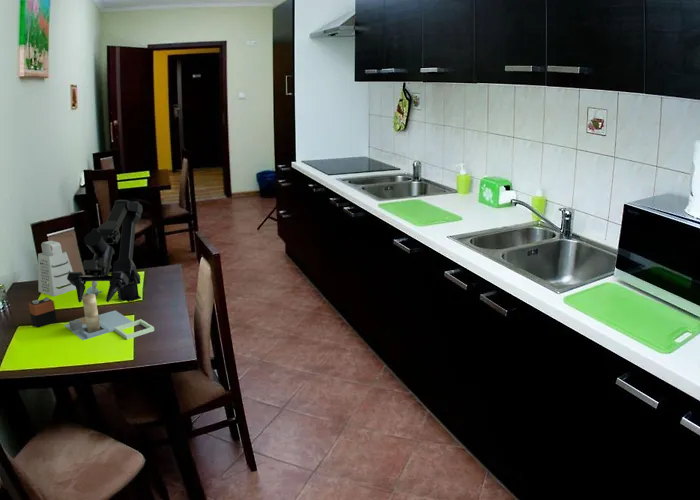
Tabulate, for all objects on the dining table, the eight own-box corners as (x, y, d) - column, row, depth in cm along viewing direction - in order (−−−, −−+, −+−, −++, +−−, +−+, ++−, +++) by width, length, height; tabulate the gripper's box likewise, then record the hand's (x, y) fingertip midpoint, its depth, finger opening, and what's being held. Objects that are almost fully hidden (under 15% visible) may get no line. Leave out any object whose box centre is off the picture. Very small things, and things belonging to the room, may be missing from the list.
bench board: (115, 313, 212) (114, 303, 211) (136, 327, 201) (135, 317, 200) (64, 328, 200) (62, 318, 199) (83, 343, 189) (81, 333, 188)
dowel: (97, 328, 197) (92, 292, 193) (102, 332, 194) (97, 295, 190) (85, 332, 194) (80, 295, 190) (90, 336, 192) (84, 299, 188)
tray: (141, 325, 202) (141, 319, 201) (154, 333, 195) (153, 327, 195) (115, 334, 196) (114, 327, 195) (127, 342, 189) (126, 335, 188)
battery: (32, 327, 201) (27, 300, 198) (52, 321, 206) (48, 295, 203) (37, 331, 198) (33, 303, 196) (58, 324, 203) (53, 298, 200)
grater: (54, 296, 229) (45, 247, 223) (38, 291, 235) (30, 244, 229) (78, 288, 238) (70, 241, 232) (62, 283, 243) (55, 237, 237)
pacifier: (89, 300, 226) (104, 295, 230) (86, 285, 224) (102, 280, 228) (81, 295, 231) (96, 291, 235) (78, 281, 229) (93, 276, 233)
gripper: (65, 249, 194) (54, 292, 187) (121, 248, 194) (112, 291, 187) (78, 264, 204) (69, 305, 197) (132, 263, 204) (124, 305, 197)
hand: (93, 301), depth 194 cm, fingers open, 9 cm apart
